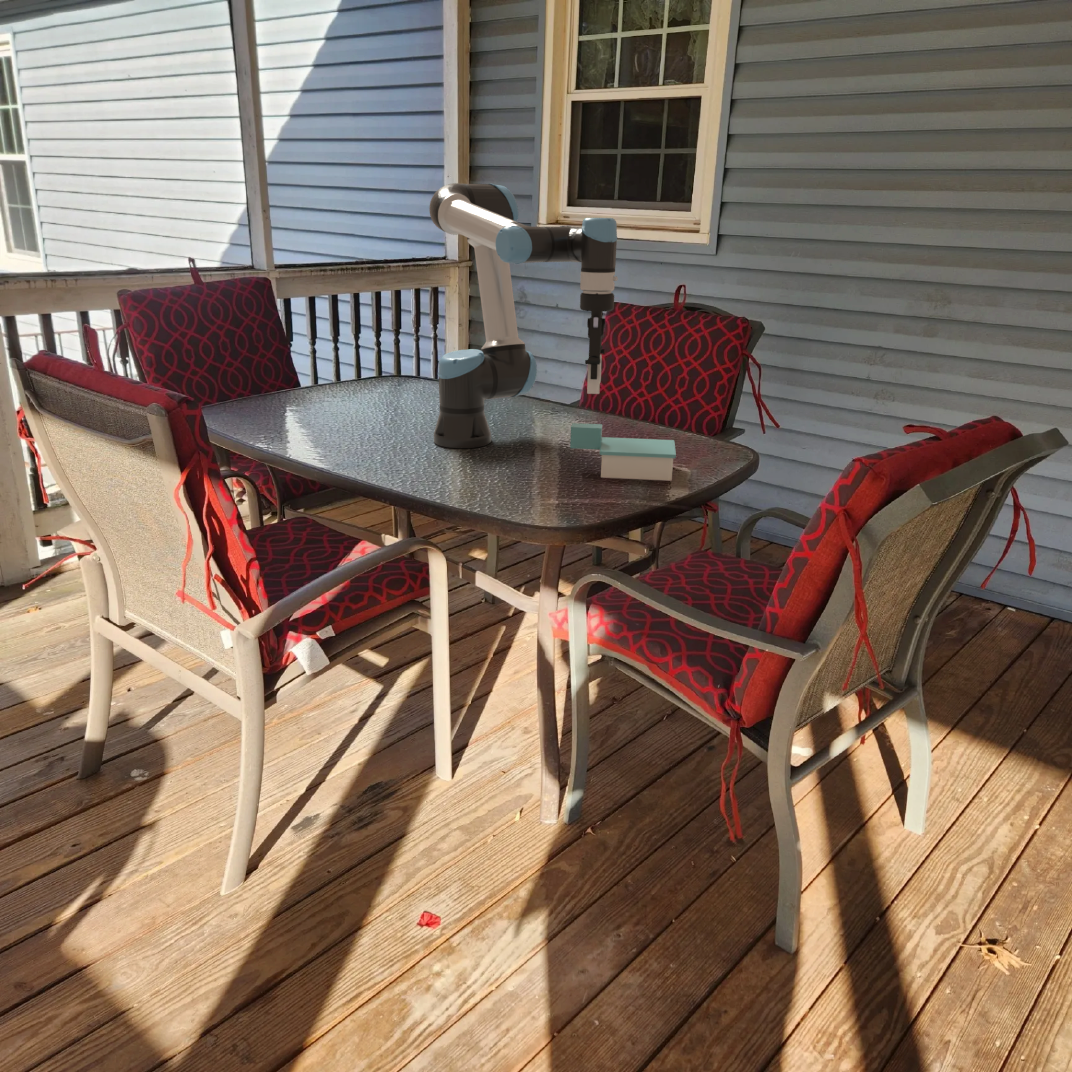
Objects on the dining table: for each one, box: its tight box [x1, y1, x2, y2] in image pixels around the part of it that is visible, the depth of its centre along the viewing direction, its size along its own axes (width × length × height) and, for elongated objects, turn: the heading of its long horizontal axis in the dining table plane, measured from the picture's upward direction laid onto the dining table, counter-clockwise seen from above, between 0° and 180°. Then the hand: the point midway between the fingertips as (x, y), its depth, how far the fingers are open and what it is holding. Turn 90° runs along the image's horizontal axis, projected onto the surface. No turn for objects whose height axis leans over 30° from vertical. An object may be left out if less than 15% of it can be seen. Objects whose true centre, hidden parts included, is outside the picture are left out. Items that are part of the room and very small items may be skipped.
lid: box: [569, 422, 677, 459], centre depth 197 cm, size 24×13×5 cm, turn 83°
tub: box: [600, 455, 674, 482], centre depth 198 cm, size 16×12×6 cm
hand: (594, 387), depth 196 cm, fingers open, 13 cm apart
